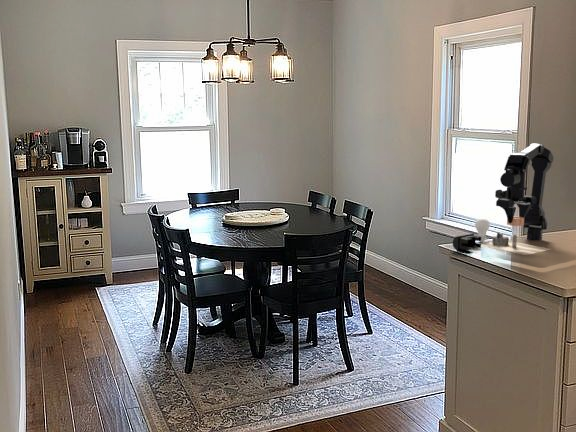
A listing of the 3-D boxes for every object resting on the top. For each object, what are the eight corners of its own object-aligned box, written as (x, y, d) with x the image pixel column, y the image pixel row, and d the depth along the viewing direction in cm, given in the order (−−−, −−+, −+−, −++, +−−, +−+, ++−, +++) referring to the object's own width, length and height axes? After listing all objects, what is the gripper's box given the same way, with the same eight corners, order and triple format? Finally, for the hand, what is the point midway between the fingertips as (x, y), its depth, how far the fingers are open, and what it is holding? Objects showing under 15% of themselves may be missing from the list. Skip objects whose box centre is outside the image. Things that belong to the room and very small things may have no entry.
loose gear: (513, 222, 268) (514, 215, 267) (527, 224, 262) (527, 217, 262) (503, 224, 264) (504, 217, 264) (517, 226, 259) (517, 219, 258)
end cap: (467, 247, 272) (468, 232, 271) (481, 250, 266) (482, 234, 265) (451, 251, 266) (452, 235, 265) (465, 254, 260) (466, 238, 259)
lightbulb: (473, 243, 280) (474, 218, 278) (474, 240, 285) (475, 216, 284) (488, 244, 278) (489, 219, 276) (489, 241, 283) (490, 216, 281)
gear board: (502, 242, 280) (503, 227, 279) (551, 252, 260) (552, 236, 259) (476, 247, 271) (476, 232, 270) (524, 258, 251) (525, 241, 250)
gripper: (515, 180, 272) (513, 217, 275) (486, 184, 262) (484, 221, 265) (538, 183, 263) (536, 220, 266) (508, 187, 253) (506, 225, 256)
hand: (515, 222), depth 263 cm, fingers closed on loose gear, 6 cm apart
